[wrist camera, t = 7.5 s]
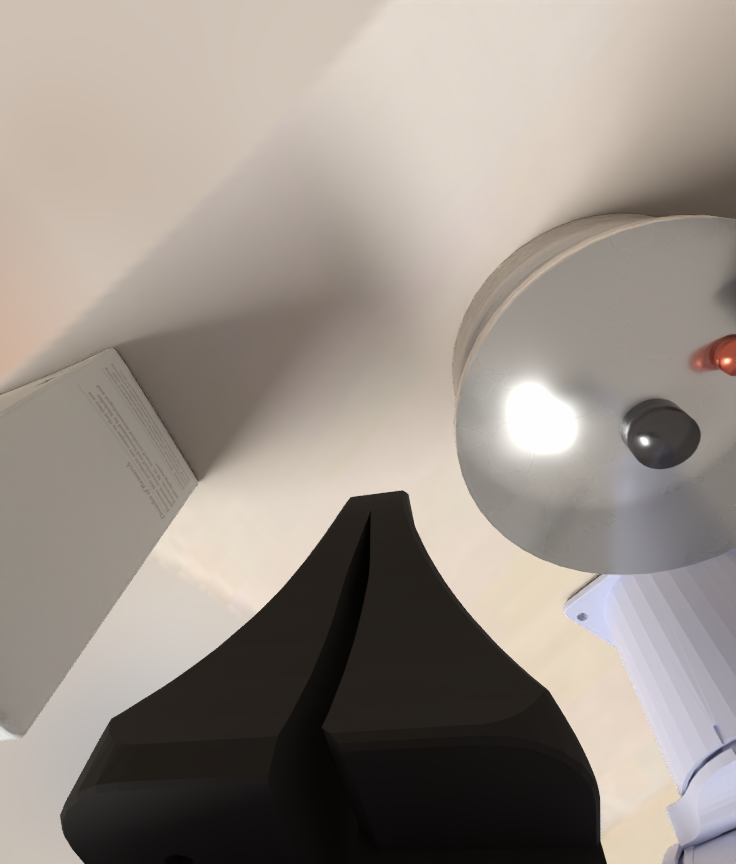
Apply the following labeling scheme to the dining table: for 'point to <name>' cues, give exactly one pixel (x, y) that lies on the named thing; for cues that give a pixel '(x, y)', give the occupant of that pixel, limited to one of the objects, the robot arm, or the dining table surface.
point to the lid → (611, 402)
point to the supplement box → (74, 518)
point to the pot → (525, 275)
